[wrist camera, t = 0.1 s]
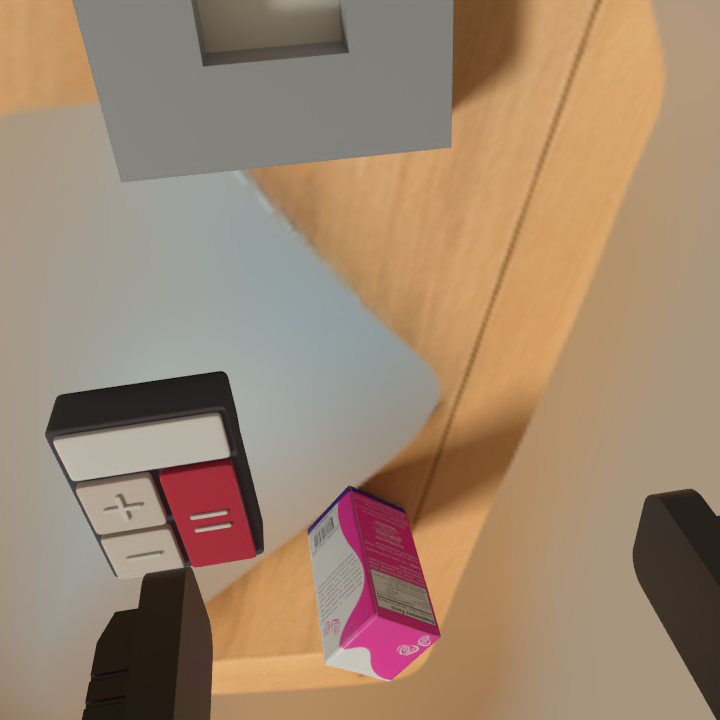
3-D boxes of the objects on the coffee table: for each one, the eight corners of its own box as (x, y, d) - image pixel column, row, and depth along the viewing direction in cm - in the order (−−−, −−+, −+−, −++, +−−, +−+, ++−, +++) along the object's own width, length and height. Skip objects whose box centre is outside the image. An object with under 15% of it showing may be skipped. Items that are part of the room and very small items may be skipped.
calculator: (114, 588, 50) (38, 441, 40) (121, 540, 53) (53, 394, 44) (265, 563, 50) (225, 413, 41) (263, 517, 54) (226, 368, 45)
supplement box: (364, 553, 56) (388, 686, 47) (305, 529, 54) (318, 665, 44) (409, 509, 54) (443, 639, 45) (349, 482, 51) (372, 614, 42)
